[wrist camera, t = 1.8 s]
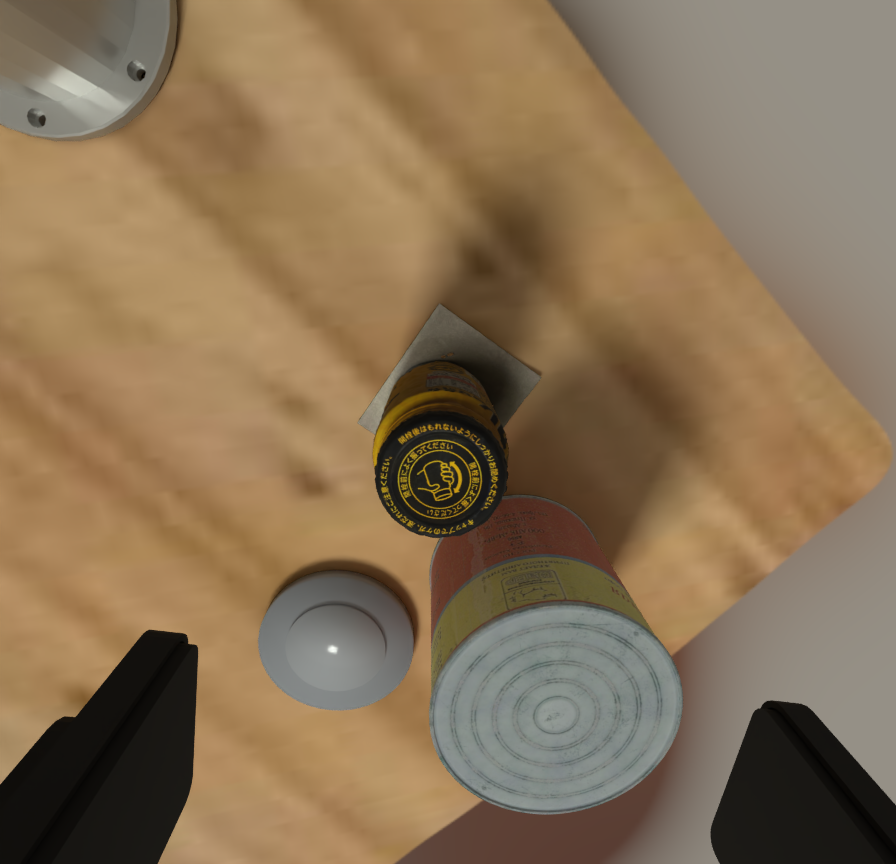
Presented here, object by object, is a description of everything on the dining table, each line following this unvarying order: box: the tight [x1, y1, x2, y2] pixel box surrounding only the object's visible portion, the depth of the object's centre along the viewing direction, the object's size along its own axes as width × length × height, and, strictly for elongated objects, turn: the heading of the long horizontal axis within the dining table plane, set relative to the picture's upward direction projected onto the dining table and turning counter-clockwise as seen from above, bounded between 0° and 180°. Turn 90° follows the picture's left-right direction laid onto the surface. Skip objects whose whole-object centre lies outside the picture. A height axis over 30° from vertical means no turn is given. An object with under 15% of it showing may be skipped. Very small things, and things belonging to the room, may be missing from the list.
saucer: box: [258, 570, 414, 710], centre depth 36 cm, size 10×10×1 cm
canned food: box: [429, 495, 683, 814], centre depth 30 cm, size 11×11×12 cm
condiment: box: [358, 304, 541, 538], centre depth 27 cm, size 7×8×12 cm
